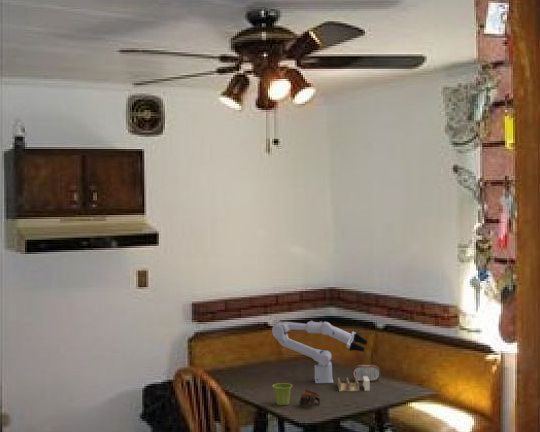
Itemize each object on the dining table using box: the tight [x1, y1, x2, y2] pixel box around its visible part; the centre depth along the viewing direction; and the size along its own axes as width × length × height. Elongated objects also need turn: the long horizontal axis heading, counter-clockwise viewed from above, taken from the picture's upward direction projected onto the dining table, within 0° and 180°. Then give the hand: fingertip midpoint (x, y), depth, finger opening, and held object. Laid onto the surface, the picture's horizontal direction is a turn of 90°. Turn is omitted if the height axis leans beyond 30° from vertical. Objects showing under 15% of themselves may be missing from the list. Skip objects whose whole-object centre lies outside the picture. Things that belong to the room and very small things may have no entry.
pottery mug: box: [298, 389, 321, 409], centre depth 303 cm, size 12×10×8 cm
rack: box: [337, 376, 360, 392], centre depth 331 cm, size 10×12×4 cm
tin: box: [351, 364, 381, 382], centre depth 344 cm, size 15×3×8 cm, turn 84°
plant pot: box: [272, 382, 293, 406], centre depth 307 cm, size 9×9×9 cm
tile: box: [362, 376, 371, 392], centre depth 330 cm, size 2×9×5 cm, turn 178°
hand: (365, 346), depth 339 cm, fingers open, 7 cm apart
